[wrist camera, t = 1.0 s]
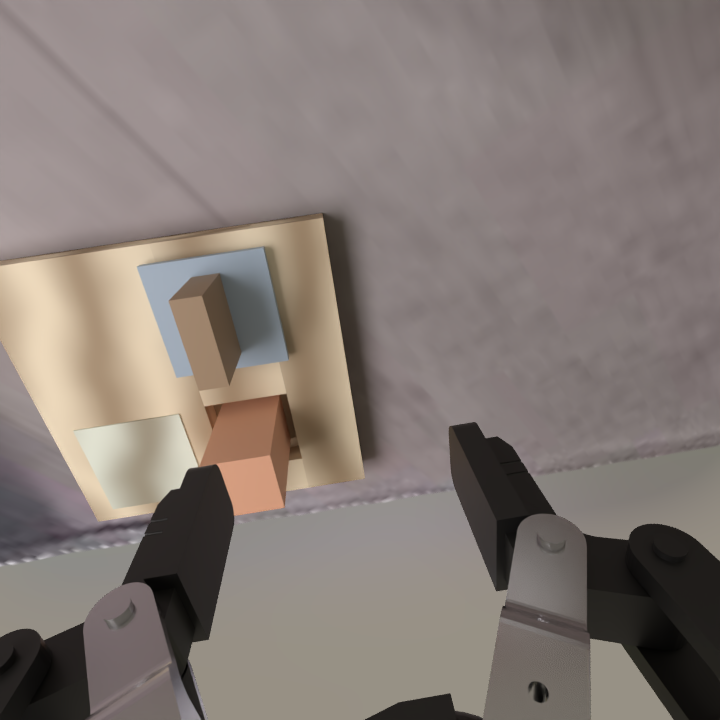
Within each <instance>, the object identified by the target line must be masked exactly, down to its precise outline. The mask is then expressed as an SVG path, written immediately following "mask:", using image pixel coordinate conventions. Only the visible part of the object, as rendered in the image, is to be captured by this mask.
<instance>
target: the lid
mask: <svg viewBox="0 0 720 720" xmlns="http://www.w3.org/2000/svg"><path fill="white" fill-rule="evenodd" d="M137 269H138V272H139V275H140V278H141V281H142V283H143V286H144V289H145V292H146V294H147V297H148V300H149V303H150V305H151V308H152V311H153V314H154V317H155V319H156V322H157V325H158V328H159V330H160V333H161V336H162V339H163V341H164V344H165V347H166V350H167V353H168V355H169V358H170V361H171V364H172V366H173V369H174V372H175V375H176V378H179V377H185V376H192V375H194V378H195V381H196V384H197V387H198V390H199V391H203V390H209V389H215V388H222V387H228V386H230V383H231V380H232V378H233V375H234V372H235V369H237V368H243V367H250V366H256V365H263V364H269V363H275V362H282V361H288V360H289V354H288V350H287V345H286V341H285V336H284V332H283V327H282V323H281V319H280V314H279V310H278V305H277V301H276V296H275V292H274V287H273V283H272V279H271V274H270V270H269V265H268V261H267V256H266V252H265V247H264V246H262V247H255V248H249V249H242V250H235V251H229V252H222V253H215V254H209V255H202V256H195V257H189V258H182V259H175V260H169V261H162V262H155V263H149V264H142V265H139V266H137Z"/></svg>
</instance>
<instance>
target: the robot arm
mask: <svg viewBox="0 0 720 720" xmlns="http://www.w3.org/2000/svg"><path fill="white" fill-rule="evenodd" d="M449 446H450V463H451V474H452V479H453V483H454V487H455V490H456V492H457V495H458V497H459V500H460V502H461V505H462V507H463V510H464V512H465V515H466V517H467V520H468V522H469V525H470V527H471V530H472V532H473V535H474V537H475V539H476V542H477V544H478V547H479V549H480V552H481V554H482V557H483V559H484V562H485V564H486V567H487V569H488V572H489V574H490V577H491V579H492V582H493V584H494V587H495V589H496V591H500V590H507V589H508V591H507V597H506V602H505V606H503V607H502V611H501V615H500V621H499V626H498V632H497V638H496V644H495V650H494V656H493V662H492V668H491V674H490V680H489V686H488V691H487V697H486V704H485V709H484V715H483V718H481V717H479V716H476V715H472V714H469V713H465V712H458V711H455V710H454V706H453V702H452V698H451V694H444V695H439V696H433V697H427V698H421V699H416V700H410V701H405V702H399V703H397V704H395V705H393V706H391V707H389V708H387V709H385V710H383V711H381V712H379V713H377V714H375V715H373V716H371V717H369V718H367V719H365V720H591V691H590V690H591V688H590V686H591V682H590V638H591V639H597V640H603V641H609V642H615V643H621V644H622V646H623V647H624V649H625V650H626V652H627V653H628V654H629V656H630V657H631V659H632V660H633V662H634V663H635V664H636V666H637V667H638V669H639V670H640V672H641V673H642V674H643V676H644V677H645V679H646V680H647V682H648V683H649V685H650V686H651V688H652V689H653V690H654V692H655V693H656V695H657V696H658V698H659V699H660V701H661V702H662V703H663V705H664V706H665V707H666V709H667V711H668V712H669V713H670V715H671V716H672V718H673V719H674V720H720V561H719V560H718V559H717V558H715V556H713V555H712V554H711V553H710V552H709V551H708V550H707V549H706V548H705V547H704V546H703V545H701V544H700V543H699V542H698V541H697V540H696V539H694V538H693V537H692V536H690V535H688V534H687V533H685V532H683V531H681V530H679V529H676V528H673V527H670V526H666V525H662V524H661V525H660V524H646V525H642V526H639V527H637V528H635V529H634V530H633V531H632V532H631V534H630V537H629V540H621V539H611V538H602V537H594V536H590V535H586V534H583V533H582V532H581V531H580V530H579V528H578V527H576V526H575V525H574V524H573V523H571V522H570V521H568V520H566V519H565V518H562V517H559V516H557V515H556V513H555V512H554V510H553V509H552V507H551V506H550V504H549V503H548V501H547V500H546V498H545V497H544V495H543V493H542V492H541V490H540V489H539V488H538V486H537V484H536V483H535V481H534V480H533V478H532V477H531V475H530V473H528V470H527V469H526V467H525V466H524V464H523V463H522V462H521V460H520V458H519V456H518V455H517V453H516V452H515V450H514V449H513V447H512V446H510V445H509V444H508V443H506V442H505V441H503V440H502V439H500V438H499V437H492V438H485V437H484V435H483V433H482V432H481V430H480V428H479V426H478V425H477V423H476V422H472V423H466V424H460V425H454V426H450V427H449ZM233 526H234V510H233V505H232V502H231V499H230V496H229V493H228V491H227V488H226V485H225V482H224V479H223V477H222V474H221V471H220V469H219V467H218V465H216V464H213V465H207V466H201V467H195V468H190V469H188V470H187V472H186V474H185V477H184V479H183V482H182V484H181V487H180V489H173V490H171V491H170V492H169V493H168V494H167V495H166V496H165V497H164V498H163V499H162V500H161V502H160V503H159V504H158V505H157V507H156V509H155V512H154V514H153V516H152V518H151V523H150V524H149V525H148V527H147V530H146V532H145V537H143V539H142V541H141V543H140V545H139V548H138V550H137V552H136V554H135V557H134V559H133V561H132V563H131V565H130V568H129V570H128V572H127V575H126V577H125V579H124V582H123V583H122V586H120V587H118V588H116V589H114V590H112V591H111V592H109V593H108V594H106V595H105V596H104V597H103V598H102V599H100V600H99V601H98V602H97V603H96V604H95V605H94V607H93V608H92V609H91V611H90V612H89V614H88V616H87V618H86V620H85V622H84V623H82V624H80V625H77V626H75V627H73V628H71V629H68V630H66V631H64V632H62V633H60V634H57V635H55V636H53V637H51V638H48V639H46V640H43V639H42V638H41V636H40V635H39V634H38V633H37V632H36V631H35V630H32V629H20V630H16V631H13V632H10V633H9V634H6V635H4V636H2V637H0V720H208V718H207V714H206V711H205V708H204V705H203V701H202V698H201V695H200V692H199V689H198V686H197V682H196V679H195V676H194V673H193V670H192V667H191V664H190V662H189V660H188V656H189V652H190V648H191V644H192V642H197V641H203V640H208V639H209V636H210V631H211V626H212V622H213V617H214V613H215V608H216V604H217V599H218V595H219V590H220V586H221V581H222V576H223V572H224V567H225V563H226V558H227V554H228V549H229V545H230V540H231V536H232V531H233Z"/></svg>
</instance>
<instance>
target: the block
mask: <svg viewBox="0 0 720 720" xmlns="http://www.w3.org/2000/svg"><path fill="white" fill-rule="evenodd" d="M290 442H291V437H290V433H289V429H288V425H287V421H286V417H285V413H284V409H283V405H282V401H281V397H280V395H274V396H268V397H261V398H255V399H249V400H242V401H236V402H230V403H223V404H222V406H221V409H220V412H219V414H218V417H217V420H216V423H215V425H214V428H213V431H212V433H211V436H210V439H209V442H208V444H207V447H206V450H205V452H204V455H203V458H202V461H201V463H200V466H199V467H201V466H207V465H213V464H216V465H218V467H219V469H220V471H221V474H222V477H223V479H224V482H225V485H226V488H227V491H228V493H229V496H230V499H231V502H232V505H233V510H234V516H236V515H242V514H249V513H255V512H261V511H267V510H273V509H279V508H285V497H286V486H287V475H288V464H289V453H290Z"/></svg>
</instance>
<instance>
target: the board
mask: <svg viewBox="0 0 720 720" xmlns="http://www.w3.org/2000/svg"><path fill="white" fill-rule="evenodd" d="M262 246H264V247H265V252H266V256H267V261H268V265H269V270H270V274H271V279H272V283H273V287H274V292H275V296H276V301H277V305H278V310H279V314H280V319H281V323H282V327H283V332H284V336H285V341H286V345H287V350H288V354H289V360H288V361H282V362H275V363H269V364H263V365H256V366H250V367H243V368H237V369H235V372H234V375H233V378H232V380H231V383H230V386H228V387H222V388H215V389H209V390H203V391H199V390H198V387H197V384H196V381H195V378H194V375H192V376H185V377H179V378H176V375H175V372H174V369H173V366H172V364H171V361H170V358H169V355H168V353H167V350H166V347H165V344H164V341H163V339H162V336H161V333H160V330H159V328H158V325H157V322H156V319H155V317H154V314H153V311H152V308H151V305H150V303H149V300H148V297H147V294H146V292H145V289H144V286H143V283H142V281H141V278H140V275H139V272H138V269H137V266H139V265H142V264H149V263H155V262H162V261H169V260H175V259H182V258H189V257H195V256H202V255H209V254H215V253H222V252H229V251H235V250H242V249H249V248H255V247H262ZM0 340H1V342H2V344H3V346H4V348H5V350H6V351H7V353H8V355H9V357H10V359H11V361H12V363H13V364H14V366H15V368H16V370H17V372H18V374H19V375H20V377H21V379H22V381H23V383H24V385H25V387H26V388H27V390H28V392H29V394H30V396H31V398H32V399H33V401H34V403H35V405H36V407H37V409H38V411H39V412H40V414H41V416H42V418H43V420H44V422H45V424H46V425H47V427H48V429H49V431H50V433H51V435H52V436H53V438H54V440H55V442H56V444H57V446H58V448H59V449H60V451H61V453H62V455H63V457H64V459H65V460H66V462H67V464H68V466H69V468H70V470H71V472H72V473H73V475H74V477H75V479H76V481H77V483H78V484H79V486H80V488H81V490H82V492H83V494H84V496H85V497H86V499H87V501H88V503H89V505H90V507H91V508H92V510H93V512H94V514H95V516H96V518H97V520H98V521H105V520H111V519H117V518H123V517H130V516H136V515H142V514H148V513H154V512H155V509H156V507H157V505H158V504H159V503H160V502H161V500H162V499H163V498H164V497H165V496H166V495H167V494H168V493H169V492H170V491H171V490H173V489H180V487H181V484H182V482H183V479H184V477H185V474H186V472H187V470H188V469H190V468H195V467H199V466H200V463H201V461H202V458H203V455H204V452H205V450H206V447H207V444H208V442H209V439H210V436H211V433H212V431H213V428H214V425H215V423H216V420H217V417H218V414H219V412H220V409H221V406H222V404H223V403H230V402H236V401H242V400H249V399H255V398H261V397H268V396H274V395H280V397H281V401H282V405H283V409H284V413H285V417H286V421H287V425H288V429H289V433H290V437H291V442H290V453H289V464H288V475H287V486H286V491H290V490H297V489H303V488H309V487H315V486H321V485H327V484H334V483H340V482H346V481H352V480H358V479H365V476H364V469H363V462H362V456H361V450H360V443H359V437H358V431H357V425H356V418H355V412H354V406H353V400H352V394H351V387H350V381H349V375H348V369H347V363H346V356H345V350H344V344H343V338H342V332H341V325H340V319H339V313H338V307H337V301H336V294H335V288H334V282H333V276H332V269H331V263H330V257H329V251H328V245H327V238H326V232H325V226H324V220H323V214H322V213H320V214H313V215H306V216H299V217H293V218H286V219H279V220H272V221H266V222H259V223H252V224H246V225H239V226H232V227H225V228H219V229H212V230H205V231H198V232H192V233H185V234H178V235H171V236H165V237H158V238H151V239H145V240H138V241H131V242H124V243H118V244H111V245H104V246H97V247H91V248H84V249H77V250H70V251H64V252H57V253H50V254H44V255H37V256H30V257H23V258H17V259H10V260H3V261H0Z"/></svg>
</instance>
